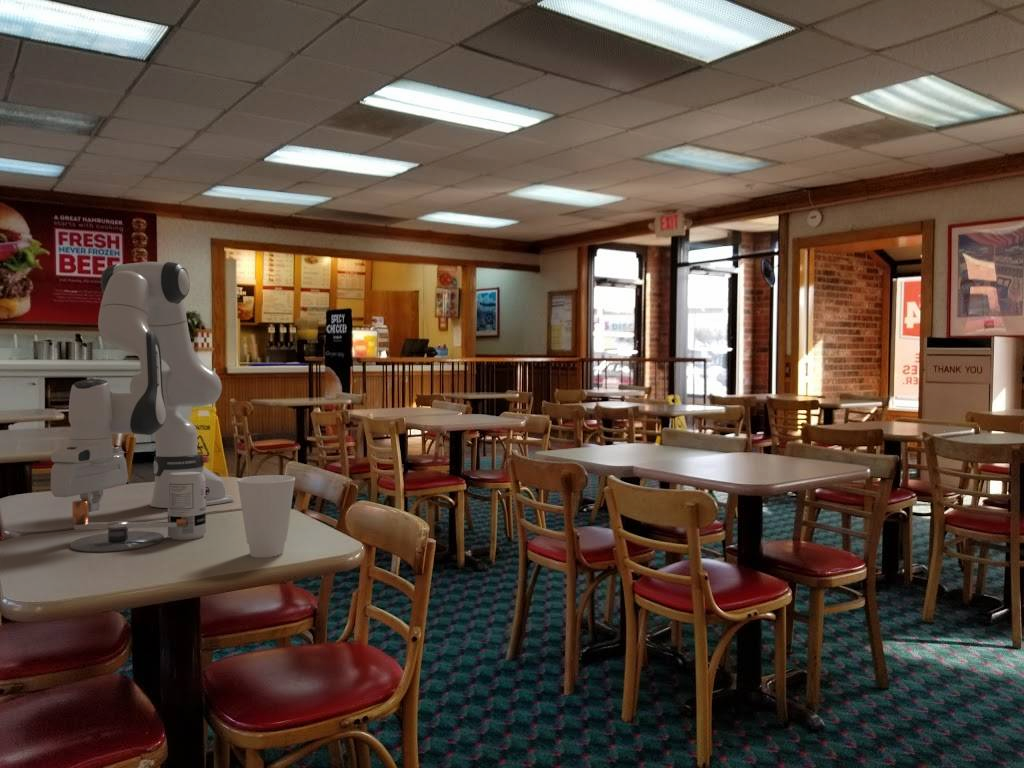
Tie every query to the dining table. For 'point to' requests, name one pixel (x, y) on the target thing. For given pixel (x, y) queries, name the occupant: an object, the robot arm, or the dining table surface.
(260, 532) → the cup
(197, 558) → the dining table surface
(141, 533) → the dial plate
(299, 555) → the dining table surface
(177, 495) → the supplement can
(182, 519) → the crank
